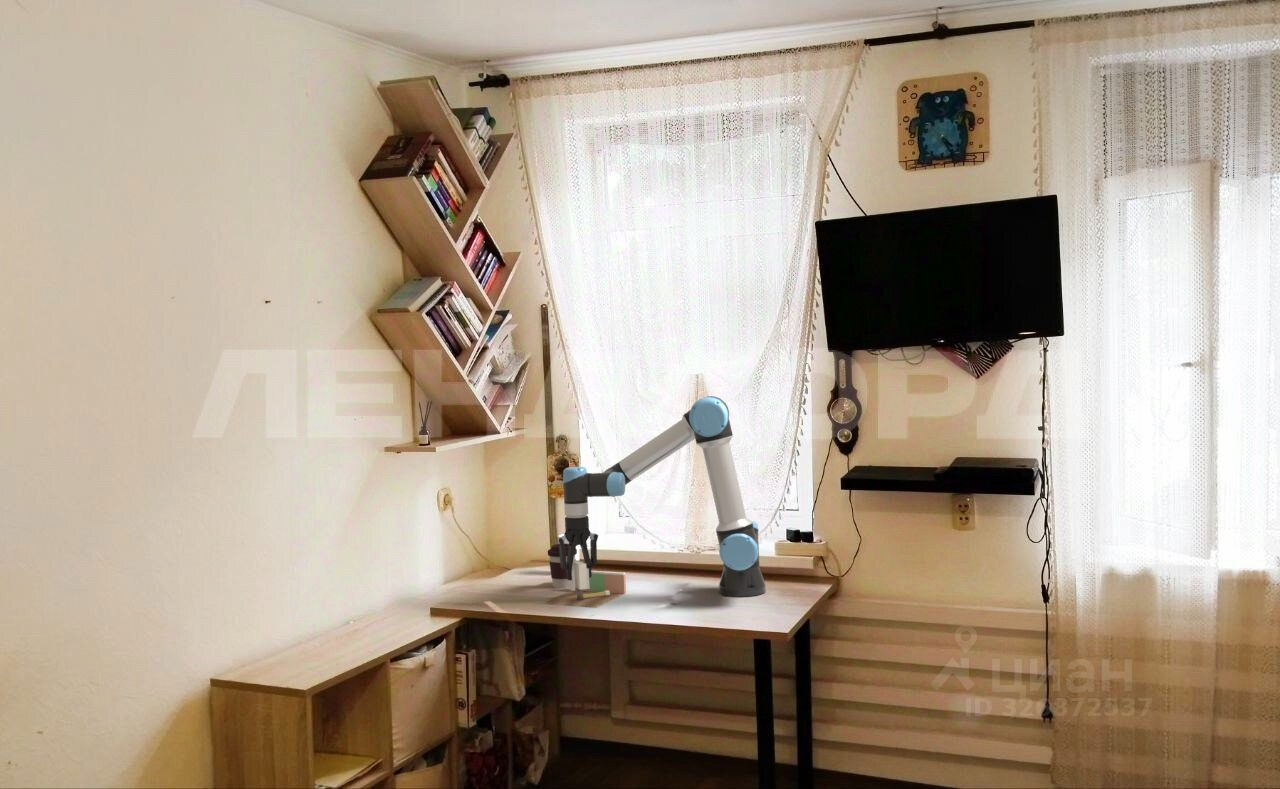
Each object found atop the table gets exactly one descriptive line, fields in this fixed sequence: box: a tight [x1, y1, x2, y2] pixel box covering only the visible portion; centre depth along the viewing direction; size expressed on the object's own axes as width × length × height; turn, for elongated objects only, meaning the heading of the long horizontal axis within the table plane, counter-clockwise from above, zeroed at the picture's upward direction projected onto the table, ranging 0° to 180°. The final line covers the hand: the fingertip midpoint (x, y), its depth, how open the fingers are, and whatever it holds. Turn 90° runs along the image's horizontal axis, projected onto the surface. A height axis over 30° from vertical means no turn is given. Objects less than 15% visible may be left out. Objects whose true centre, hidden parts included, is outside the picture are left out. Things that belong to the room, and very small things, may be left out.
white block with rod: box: [572, 559, 610, 601], centre depth 324 cm, size 11×7×12 cm, turn 114°
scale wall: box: [575, 570, 627, 595], centre depth 334 cm, size 20×1×7 cm, turn 64°
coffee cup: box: [547, 543, 577, 589], centre depth 345 cm, size 10×10×15 cm
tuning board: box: [539, 589, 624, 609], centre depth 325 cm, size 20×21×1 cm
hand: (579, 588), depth 323 cm, fingers open, 4 cm apart
